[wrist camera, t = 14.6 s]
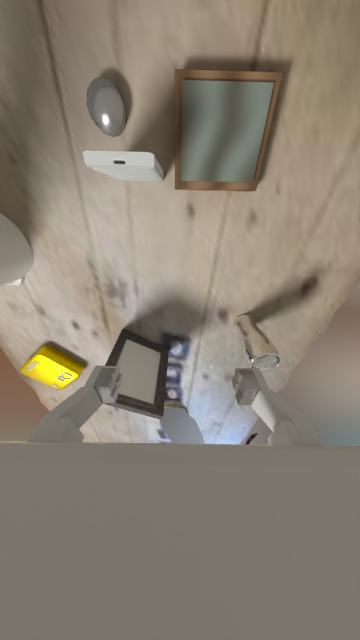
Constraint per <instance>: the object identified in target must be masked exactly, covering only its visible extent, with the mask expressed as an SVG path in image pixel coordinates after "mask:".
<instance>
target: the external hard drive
mask: <svg viewBox="0 0 360 640" xmlns="http://www.w3.org/2000/svg"><path fill="white" fill-rule="evenodd" d="M83 157H84V161H85V165H86V166H87V167H90V168H92V169H94V170H96V171H99V172H101V173H104V174H106V175H109V176H112V177H114V178H117V179H119V180H130V181H163V180H164V172H163V170H162V168H161V166H160V164H159V163H158V161H157V159H156V157H155V155H154V154H153V153H150V152H130V151H97V150H86V151H84V152H83Z"/></svg>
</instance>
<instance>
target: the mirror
mask: <svg viewBox="0 0 360 640" xmlns="http://www.w3.org/2000/svg"><path fill="white" fill-rule="evenodd" d="M282 73H283V72H251V71H216V70H181V69H175V190H216V191H255V190H256V188H257V184H258V179H259V175H260V171H261V166H262V162H263V157H264V153H265V148H266V144H267V140H268V135H269V131H270V126H271V122H272V117H273V113H274V109H275V104H276V100H277V95H278V91H279V86H280V82H281V77H282Z"/></svg>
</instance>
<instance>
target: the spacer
mask: <svg viewBox="0 0 360 640" xmlns="http://www.w3.org/2000/svg"><path fill="white" fill-rule="evenodd" d="M87 105H88V110H89V113H90V115H91V117H92V119H93V121H94V123H95V124H96V125H97V126H98V127H99V128H100V129H101V130H102V131H103V132H104V133H105V134H107V135H109V136H112V137H115V136H118V135H120V134H121V133H122V132H123V130H124V128H125V125H126V109H125V105H124V102H123V100H122V98H121V96H120V94H119V93H118V91H117V89H116V88H115V86H114V85H113V84H112V83H111V82H110V81H109V80H107V79H105V78H101V77H100V78H96V79H94V80H93V81H92V82H91V83H90V85H89V88H88V91H87Z"/></svg>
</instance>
